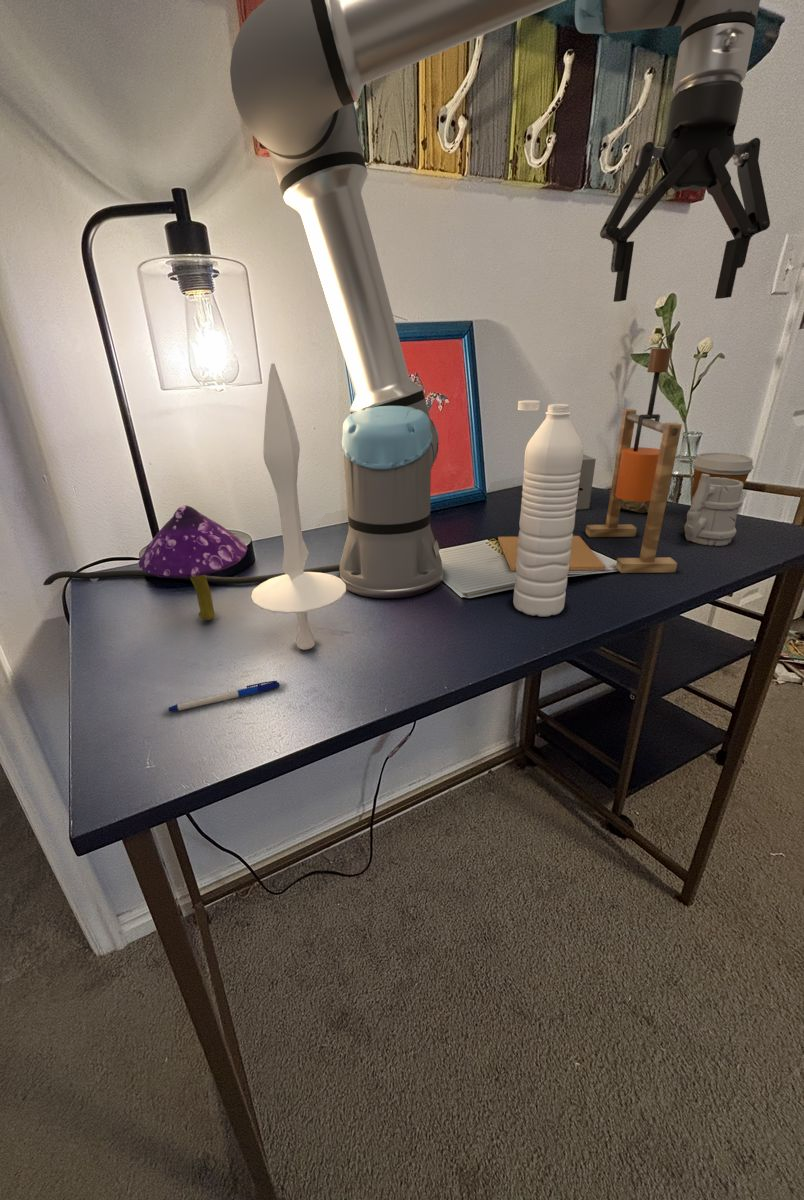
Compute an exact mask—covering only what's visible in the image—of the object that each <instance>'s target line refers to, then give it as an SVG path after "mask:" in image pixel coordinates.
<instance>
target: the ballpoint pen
mask: <svg viewBox="0 0 804 1200" xmlns="http://www.w3.org/2000/svg"><path fill="white" fill-rule="evenodd" d="M279 688H280V682H279V681H278V680H269V681H263V682H259V683H254V684H248V685H246V687H245V688H240V689H238V690H234V691H230V692H225V693H222V694H221V693H220V694H216V695H211V696H208V697H204V698H203V697H202V698H198V699H194V700H190V701H185V702H182V703H177V704H174V705H172V706H169V707H168V712H179V711H183V710H184V711H185V710H188V709H193V708H197V707H201V706H205V705H210V704H213V703H214V704H215V703H219V702H223V701H227V700H232V699H235V698H242V697H248V696H251V695H254V694H255V695H256V694H260V693H264V692H269V691H273V690H275V689H279Z"/></svg>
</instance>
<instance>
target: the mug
mask: <svg viewBox="0 0 804 1200" xmlns="http://www.w3.org/2000/svg"><path fill="white" fill-rule="evenodd" d="M743 489H744V487H743V483H742V482H741V481H738V480H733V479H728V478H720V477H710V475H708V474H702V475H701V479H700V481H699V484H698V488H697V490H696V493H695V495H694V496H693V498H692V497H691V500H692V502H691V503H692V505H691V503H690V507H689V509H688V511H687V513H686V521H685V524H684V525H683V526H684V536H685V539H686V541H690V542H692V543H695V544H699V545H703V546H715V547H718V546H720V547H721V546H727V545H729V544H731V543H732V541H733V538H734V537H735V536H736V534H737V529H736V527H735V526H736V522H737V518H738V517H737V516H738V514H739V513H738V512H739V509H740V508H741V507H742V506H743V500H742V499H741V498H742V494H743Z"/></svg>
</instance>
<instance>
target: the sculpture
mask: <svg viewBox="0 0 804 1200" xmlns="http://www.w3.org/2000/svg"><path fill="white" fill-rule="evenodd" d="M264 414H265V415H264V431H263V432H264V433H263V450H262V451H263V453H262V455H263V461H264V465H265V467H266V469H267V471H268V474H269V475H270V479H271V483H272V485H273V488H274V491H275V495H276V498H277V503H278V510H279V511H278V513H279V519H280V525H281V526H280V527H281V534H282V544H283V556H282V567H281V573H286V574H285V575H281V576H278V577H274V578H271V579H269V580H267V581H265V582H260V583H259V584H258V585H257V586H256V587H254V589H252V592H251V594H250V598H251V601H252V603H253V604H254V605H255V606H256V607H258V608H259V609H261V610H265V611H268V612H270V613H280V614H296V617H297V621H298V629H297V635H296V639H295V640H296V647H297V648H299V649H300V650H305V651H307V650H310V649H312V648H313V647H314V646H315V645H316V642H315V638H314V635H313V633H312V631H311V629H310V626H309V625H310V624H309V621H308V620H309V619H308V612H312V611H317V610H320V609H323V608H327V607H328V606H331V605H333V604H335V603H336V602H338V601H339V600H341V599H342V598H343V596H344V595H345V594H346V592H347V589H346V584H345V583H344V582H343V581H342V580H341V579H340V577H338V576H336V575H334V574H330V573H318V572H304V570H305V569H304V568H305V564H306V561H307V559H308V557H309V554H310V553H309V551H308V548H307V545H306V543H305V541H304V538H303V531H302V521H301V514H300V505H299V504H300V503H299V495H298V477H299V475H298V474H299V462H300V461H299V460H300V452H301V449H300V446H301V445H300V441H299V437H298V433H297V429H296V426H295V422H294V418H293V415H292V412H291V408H290V405H289V402H288V399H287V396H286V393H285V390H284V387H283V384H282V381H281V378H280V376H279V373H278V370H277V367H276V364H275V363H270V369H269V373H268V383H267V393H266V405H265V413H264Z"/></svg>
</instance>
